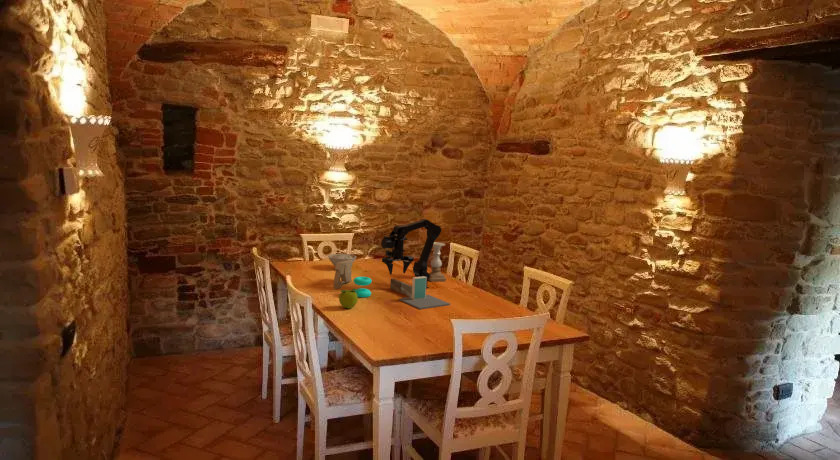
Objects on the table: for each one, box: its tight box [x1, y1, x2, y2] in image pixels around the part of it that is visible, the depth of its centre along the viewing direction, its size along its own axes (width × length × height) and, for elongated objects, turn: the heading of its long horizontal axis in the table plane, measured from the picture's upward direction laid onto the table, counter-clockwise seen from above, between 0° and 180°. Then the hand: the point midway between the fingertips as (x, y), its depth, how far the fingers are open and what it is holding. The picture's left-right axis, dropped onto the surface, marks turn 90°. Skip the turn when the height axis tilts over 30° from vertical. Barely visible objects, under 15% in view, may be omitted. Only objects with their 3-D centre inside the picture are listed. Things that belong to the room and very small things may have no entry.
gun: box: [333, 260, 353, 290], centre depth 316 cm, size 24×3×15 cm, turn 168°
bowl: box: [327, 253, 357, 267], centre depth 359 cm, size 19×19×10 cm
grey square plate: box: [398, 294, 451, 310], centre depth 287 cm, size 20×20×1 cm
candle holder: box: [428, 241, 447, 283], centre depth 342 cm, size 11×11×24 cm
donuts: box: [353, 276, 373, 298], centre depth 293 cm, size 10×10×10 cm
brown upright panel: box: [389, 278, 412, 297], centre depth 304 cm, size 2×22×6 cm, turn 35°
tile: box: [411, 276, 427, 300], centre depth 290 cm, size 8×2×12 cm, turn 125°
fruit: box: [338, 288, 359, 310], centre depth 269 cm, size 9×9×10 cm
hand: (397, 273), depth 308 cm, fingers open, 9 cm apart
